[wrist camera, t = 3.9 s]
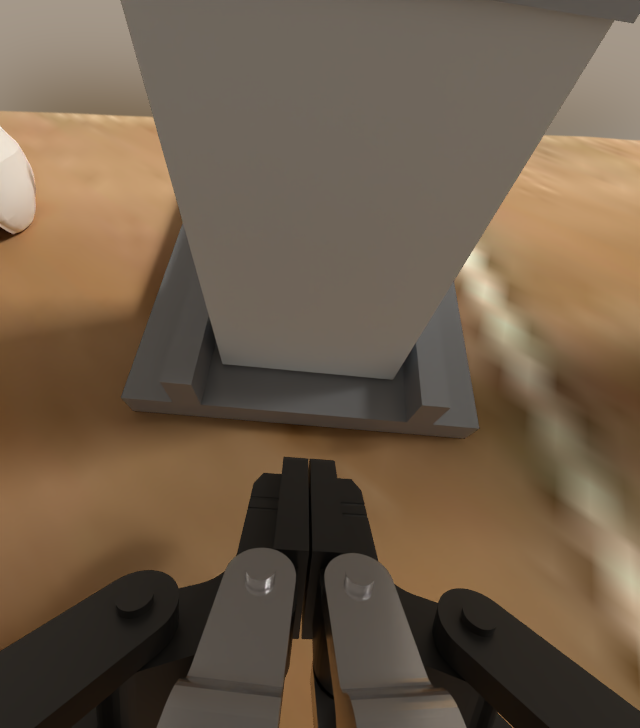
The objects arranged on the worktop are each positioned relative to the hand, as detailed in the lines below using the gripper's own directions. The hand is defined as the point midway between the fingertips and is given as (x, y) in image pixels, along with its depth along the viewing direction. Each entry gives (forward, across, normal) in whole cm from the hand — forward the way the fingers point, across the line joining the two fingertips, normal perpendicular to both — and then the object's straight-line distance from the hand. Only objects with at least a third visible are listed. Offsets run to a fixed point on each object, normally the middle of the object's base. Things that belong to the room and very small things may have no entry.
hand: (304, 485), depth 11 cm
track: (+13, 0, -5) cm, 14 cm away
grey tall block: (+9, 0, -3) cm, 9 cm away
